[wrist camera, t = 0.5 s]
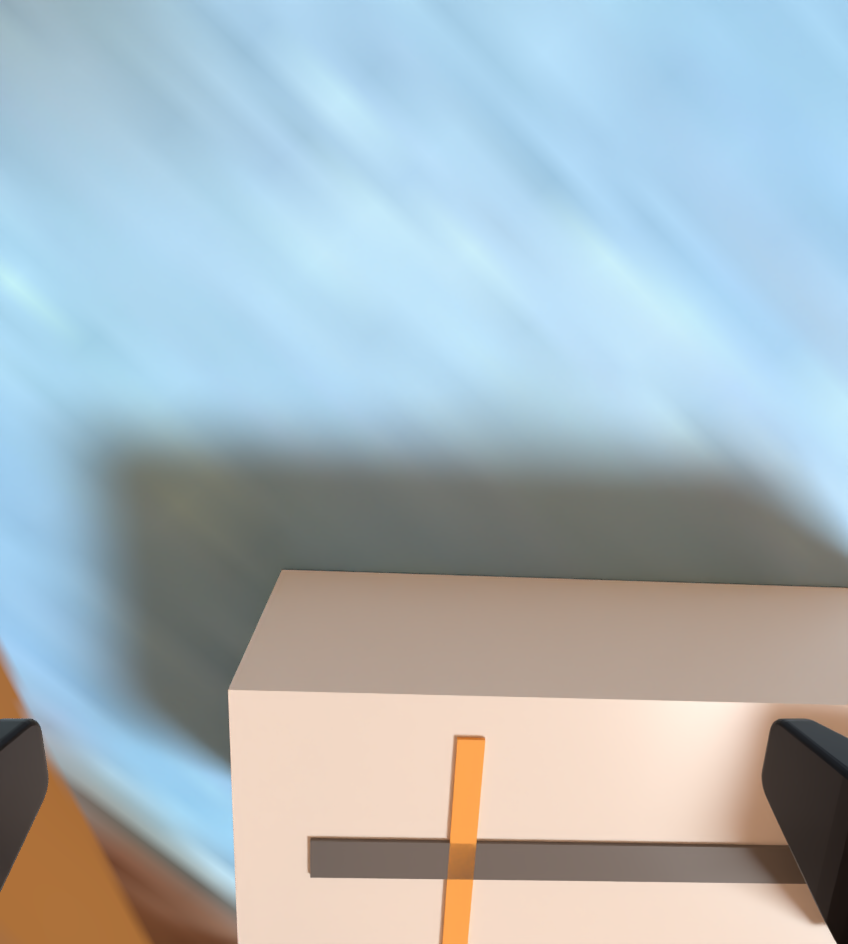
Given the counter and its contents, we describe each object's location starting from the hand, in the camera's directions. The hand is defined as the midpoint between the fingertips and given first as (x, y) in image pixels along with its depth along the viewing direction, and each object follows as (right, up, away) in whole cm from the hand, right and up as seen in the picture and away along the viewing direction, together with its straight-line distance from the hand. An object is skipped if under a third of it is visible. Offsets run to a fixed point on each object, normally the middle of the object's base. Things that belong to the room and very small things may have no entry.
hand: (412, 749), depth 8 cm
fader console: (+6, -5, +16) cm, 18 cm away
